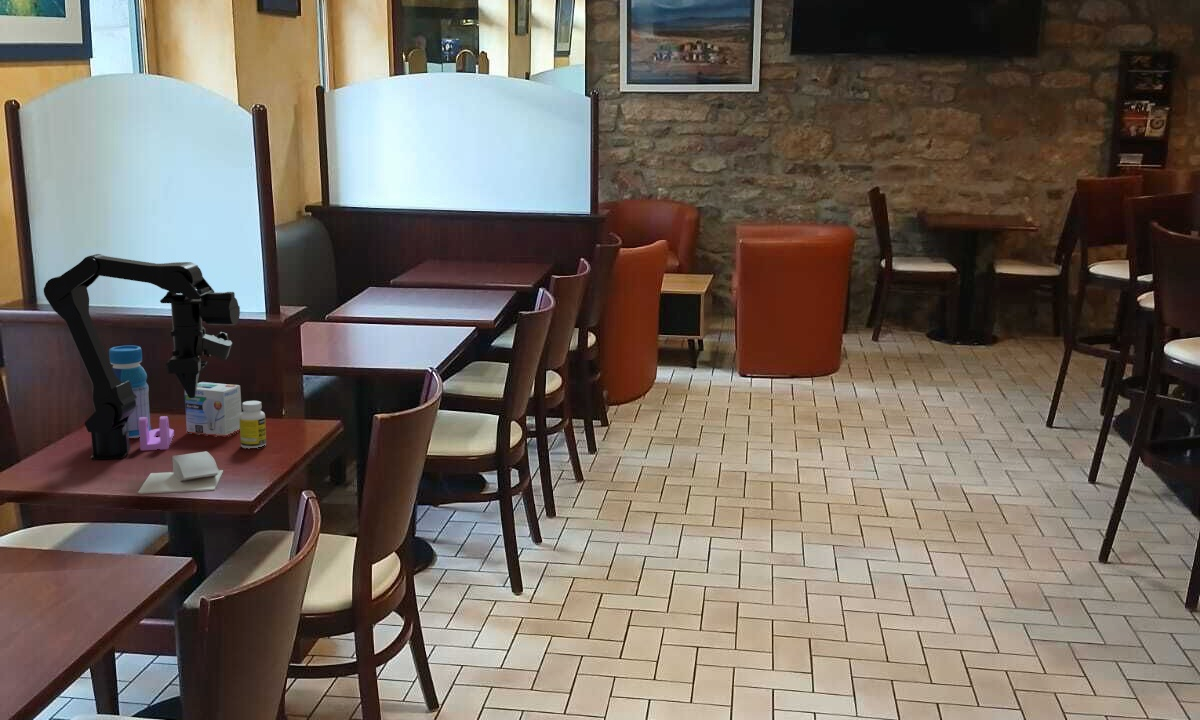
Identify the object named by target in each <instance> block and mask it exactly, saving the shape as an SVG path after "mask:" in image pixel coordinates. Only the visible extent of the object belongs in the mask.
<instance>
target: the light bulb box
mask: <svg viewBox="0 0 1200 720" xmlns="http://www.w3.org/2000/svg"><path fill="white" fill-rule="evenodd" d="M183 391H184V405H185V422H186V423H185V424H186V432H187V431H188V432H196V433H206V434H216V435H228V434H230V433H233V432H234V431H237V430H239V429H240V419H239V418H240V414H241V413H242V412H243V411H242V395H241V385H239V384H231V383H230V384H226V383H215V382H206V381H201V382H198V383H197V389H196V395H195V397H194V398H189V397H188V395H187V393H186V391H185V389H184V388H183Z"/></svg>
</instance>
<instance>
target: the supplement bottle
mask: <svg viewBox="0 0 1200 720" xmlns="http://www.w3.org/2000/svg"><path fill="white" fill-rule="evenodd" d="M241 409H242V410H243V411H241V412H242V413H241V414H240V418H239V419H240V432H239V436H240V446H241V447H242V448H243V449H246V448H248V450H250V448H257V449H259V448H258V447H262V446H264V445H265V446H266V445H267V431H266V430H267V428H266V414H265V412H264V411H262V401H259V400H246V401H243V402H241ZM265 446H264V447H265ZM262 448H263V447H262Z"/></svg>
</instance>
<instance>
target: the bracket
mask: <svg viewBox="0 0 1200 720" xmlns="http://www.w3.org/2000/svg"><path fill="white" fill-rule="evenodd" d="M158 423H159V424H158V426H159V428H154V429H151V430H150V431H149V424H148V418H147V417H140V418H139V436H140V438H139V444H140V451H155V450H157V449H160V450H169V447H170V446H171V444H172V442H173V440H172V438H173V436H174V437H175V430H174V429H173V428H170V421H169V417H168V416H167V415H166V416H165V415H164V416H163V415H162V416H159V422H158ZM157 435H160V436H158V437H156V436H157ZM173 439H174V438H173ZM171 441H172V442H171ZM170 443H171V444H170ZM169 445H170V446H169Z"/></svg>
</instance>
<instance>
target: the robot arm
mask: <svg viewBox="0 0 1200 720" xmlns="http://www.w3.org/2000/svg"><path fill="white" fill-rule="evenodd" d="M100 276H101V277H107V278H113V279H114V278H115V279H120V280H127V281H135V282H141V283H148V284H151V285H154V286H156V287H159V288H160V289H162V290H166V291H167V292H166V294H165V295H164V297H162V298H161V299H160V300H159V302H160V303H161V304H170V306H171V307H170V308H171V321H172V330H171V331H170V337H173V350H172V353H171V354H172V357H171V358H170V359H169V360H168V361H167V362H166V363H165V371H166V374H170V375H171V374H175V375H176V378H177V379H178V380H179V383H180V384H181V386H182V388H183V390H184V389H185V391H186V393H187V395H188V397H189V398H194V397H195V395H196V389H197V383H199V382H198V381H199V376H200V372H202V370H203V369H204V368H205V366H207V363H208V361H206V360H203V361H202V360H201V356H204V355H206V357H207V358H210V357H211V356H213V357H216V358H218V359H219V360H225V361H226V360H227V358H228V357H229V355H230V352H231V348H232V347H233V342H232V340H230V339H229V334H228V332H227V333H226V332H222V331H220V332H219V333H218V334H217V335H214V334H212V335H211V334H207V333H206V331H207V330H206V328H205V326H203V322H205V324H206V325H210V326H211V325H213V326H237V324H238V323H239V320H240V316H241V315H240V314H241V307H240V305H239V303H238V302H239V301H238V299H237V298H236V295H235V292H234V291H226V292H215V290H214V289H213V288H212V286H211V284H210V283H208V281H207V280H206V278H205V277H203V276H204V275H203V272H202V270H201V268H200V267H199V265H197V264H196V263H194V262H190V261H189V262H188V261H187V262H186V261H185V262H184V261H183V262H179V261H178V262H166V263H154V262H147V261H140V260H135V259H127V258H120V257H113V256H107V255H103V254H102V253H95V254H92V255H88V256H85V257H84V258H83V259H82V260H81V261H80V262H79V263H78V264H76V265H74V266H73V267H72V268H70V269H69V270H67V271H65V272H64V273H62V274H61V275H59V276H55V277H52V278H50V279H48V280H47V282H46V283H45V285H44V287H43V296H44V297H45V299H46V301H47V302H48V305H50V307H51V308H52V310H53V311H54V312H55V313H56V314H57V315H58V316H59V317H60V318H62V319H63V320H64V322H65V323H66V326H67V328H68V330H69V333H70V334H71V338H72V340H73V342H74V344H75V347H76V348H77V351H78V354H79V357H80V358H81V361H82V363H83V365H84V367H85V369H86V372H87V374H88V375H87V376H89V379H90V381H91V384H92V397H91V398H92V403H93V404H92V405H93V407H94V408H93V409H94V412H93V413H92V415H91V416H89V417H88V418H87V420H86V421H85V422H84V426H85V427H86V430H87V432H88V433H91V434H90V435H91V447H92V455H91V456H90V460H110V459H111V460H113V459H124V458H125V457H126V456H127V454H128V453H129V452H130V450H131V446H130V439H129V432H128V431H127V432H126V427H125V424H124V423H126V422H128V419H129V415H131V414H132V413H133V412H134V409H135V407H136V402H135V399H136V398H137V396H136V395H135V394H134V393H133V391H132V387H131V384H130V382H129V381H126V382H124V383H123V382H122V381H120V380H119V379H118V378H117V377H116V375H115V373H114V371H113V369H112V367H113V365H112V364H111V363H110V358H109V357H108V354H107V353H106V350H105V347H104V346H103V343H102V341H101V338H100V336H99V333H98V332H97V329H96V327H95V324H94V322H93V320H92V317H91V315H90V296H89V291H88V288H89V286H91V285H92V284H93V283H95V282H96V280H98V278H99V277H100ZM185 391H184V392H185ZM122 424H123V425H122Z"/></svg>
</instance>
